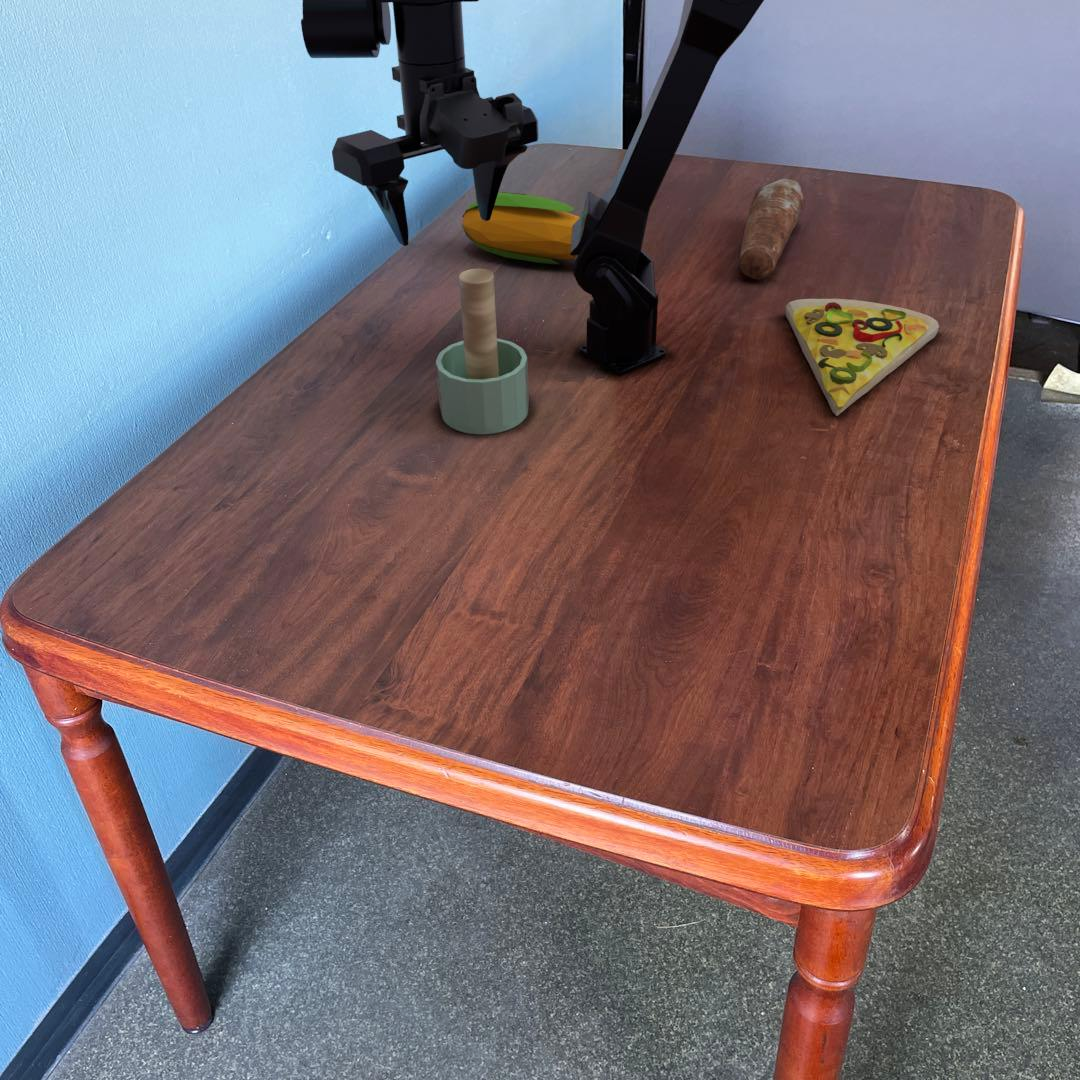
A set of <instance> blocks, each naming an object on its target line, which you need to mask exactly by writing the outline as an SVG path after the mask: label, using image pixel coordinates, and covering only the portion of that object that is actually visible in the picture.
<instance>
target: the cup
mask: <svg viewBox="0 0 1080 1080" xmlns="http://www.w3.org/2000/svg"><path fill="white" fill-rule="evenodd" d="M497 348H498V366H499V377H496V378H490V379H483V380H480V379H467V378H466V365H465V352H464V339H462V340H460V341H458V342H454V343H451V344H449V345H447V346H446V347H445V348H444V349H442V350H441V351H440V352H439V353H438V356H437V357H436V360H435V371H436V381H437V392H438V404H439V410H440V415H441V418H442V420H443V422H444V423H445V424H446V425H447V426H448V427H450V428H451V429H453V430H455V431H458V432H461V433H465V434H471V435H492V434H493V435H494V434H499V433H502V432H506V431H509V430H511V429H514V428H516V427H517V426H519V425H520V424H522V423H523V422H524V420H525V419H526V418H527V416H528V414H529V404H530V396H529V392H530V391H529V368H528V367H529V366H528V363H529V362H528V356H527V354H526V351H525V350H524V348H523V347H521V346H520V345H517V344H516V343H514V342H513V341H510V340H505V339H502V338H498V337H497Z"/></svg>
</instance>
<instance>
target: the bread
mask: <svg viewBox="0 0 1080 1080" xmlns="http://www.w3.org/2000/svg"><path fill="white" fill-rule="evenodd" d="M805 205H806V201H805V196H804V193H803V190H802V187H801V184H800V183H799V182H798V180H794V179H789V178H783V177H781V178H778V179H777V180H774V181H772V182H770V183H769V184H765V185H763V186H760V187H759V188H758V189H757V190H756V191H755V193H754V195H753V197H752V200H751V202H750V207H749V211H748V215H747V220H746V223H745V227H744V228H745V229H744V233H743V238H742V241H741V247H740V249H741V250H740V256H739V261H738V267H739V269H740V271H741V272H742V273H743V274H744V275H745V276H746V277H748V278H750V279H753V280H763V279H766V278H768V277H770V276H771V275H772V274H773V272H774V270H775V269H776V266H777V263H778V261H779V259H780V258H781V256H782V254H783V251H784V249H785V247H786V245H787V244H788V242H789V239H790V237H791V235H792V232H793V230H794V229H795V228H796V225H797V223H798V221H799V219H800V217H801V216H802V213H803V210H804V208H805Z"/></svg>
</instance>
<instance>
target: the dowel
mask: <svg viewBox="0 0 1080 1080" xmlns="http://www.w3.org/2000/svg"><path fill="white" fill-rule="evenodd" d="M458 284H459V296H460V297H459V298H460V308H461V323H462V325H461V326H462V337H463V340H464V352H465V365H466V378H467V379H480V380H483V379H490V378H496V377H499V366H498V348H497V338H498V333H497V311H496V295H495V294H496V293H495V276H494V273H493V272H492V271H491V270H489V269H485V268H470V269H466V270H464V271H462V272H460V274H459V275H458Z"/></svg>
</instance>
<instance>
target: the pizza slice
mask: <svg viewBox="0 0 1080 1080" xmlns="http://www.w3.org/2000/svg"><path fill="white" fill-rule="evenodd" d="M785 316H786V319H787V321H788V323H789V325H790V327H791V329H792V331H793V333H794V335H795V338H796V340H797V341H798V345H799V346H800V348H801V350H802V351H801V352H802V353H803V355H804V357H805V359H806V361H807V362H808V365H809V366H810V368H811V371H812V373H813V376H814V377H815V379H816V381H817V383H818V386H819V387H820V389H821V392H822V394H823V395H824V396H825V399H826V400H827V402H828V406H829V407H830V410H831V412H832V413H833V414H834V415H835V416H836V417H838V416H840V414H841V413H843V412H844V411H845V410H847V408H849V407H850V406H851V405H852V404H853V403H855V402H856V401H857V400H858V399H860V398H861V397H863V396H864V395H865V394H866V393H868V392H869V391H870V390H871V389H873V388H874V387H875V386H876V385H878V383H880V382H881V381H882V380H884V378H886V377H887V376H888V375H890V374H891V373H892V372H893V371H895V370H896V369H897V368H898V367H900V366H901V365H902V364H904V363H905V362H906V361H907V360H908V359H909V358H911V357H912V356H913V355H914V354H915V353H916V352H918V351H920V349H922V348H923V347H924V346H925V345H926V344H928V343H929V342H930V341H932V340H933V339H934V338H936V336H937V334H938V332H939V327H940V324H939V322H938V320H936V319H935V318H933V317H932V316H929V315H927V314H925V313H921V312H919V311H915V310H912V309H908V308H905V307H899V306H895V305H890V304H884V303H879V302H871V301H865V300H858V299H857V300H856V299H844V298H803V299H795V300H792V301H789V302H788V303H787V304H786V305H785Z"/></svg>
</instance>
